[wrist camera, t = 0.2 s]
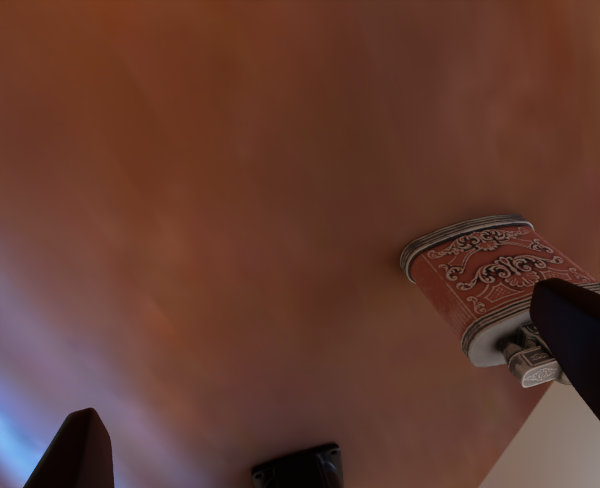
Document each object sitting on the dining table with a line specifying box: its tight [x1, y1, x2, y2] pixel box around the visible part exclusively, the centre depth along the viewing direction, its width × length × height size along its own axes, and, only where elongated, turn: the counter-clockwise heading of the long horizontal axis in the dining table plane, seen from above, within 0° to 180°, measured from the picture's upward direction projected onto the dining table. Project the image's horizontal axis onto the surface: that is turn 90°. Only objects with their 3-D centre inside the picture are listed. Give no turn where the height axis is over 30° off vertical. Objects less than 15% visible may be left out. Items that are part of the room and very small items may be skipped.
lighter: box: [400, 214, 600, 387], centre depth 25 cm, size 8×3×10 cm, turn 97°
